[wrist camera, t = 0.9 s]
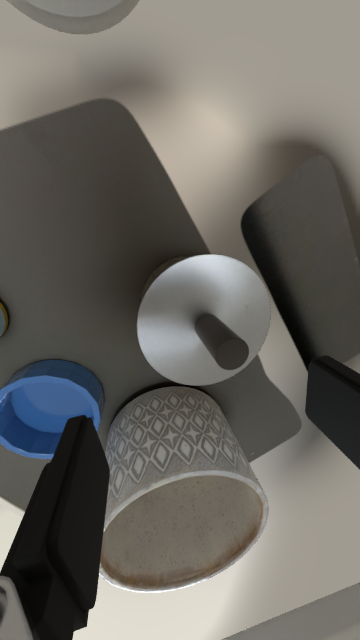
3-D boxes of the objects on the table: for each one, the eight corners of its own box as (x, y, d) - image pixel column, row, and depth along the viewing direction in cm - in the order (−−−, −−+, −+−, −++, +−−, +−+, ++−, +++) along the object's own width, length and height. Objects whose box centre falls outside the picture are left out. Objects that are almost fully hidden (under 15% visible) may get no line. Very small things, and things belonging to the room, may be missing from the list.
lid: (128, 257, 19) (124, 263, 12) (270, 250, 21) (331, 251, 15) (143, 388, 23) (147, 444, 17) (259, 370, 26) (303, 414, 19)
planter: (138, 486, 39) (139, 613, 25) (86, 412, 32) (50, 531, 19) (233, 443, 40) (282, 542, 26) (202, 361, 33) (247, 440, 20)
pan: (-7, 366, 27) (-29, 385, 24) (96, 353, 30) (90, 369, 26) (21, 441, 32) (6, 467, 28) (109, 425, 34) (106, 447, 30)
